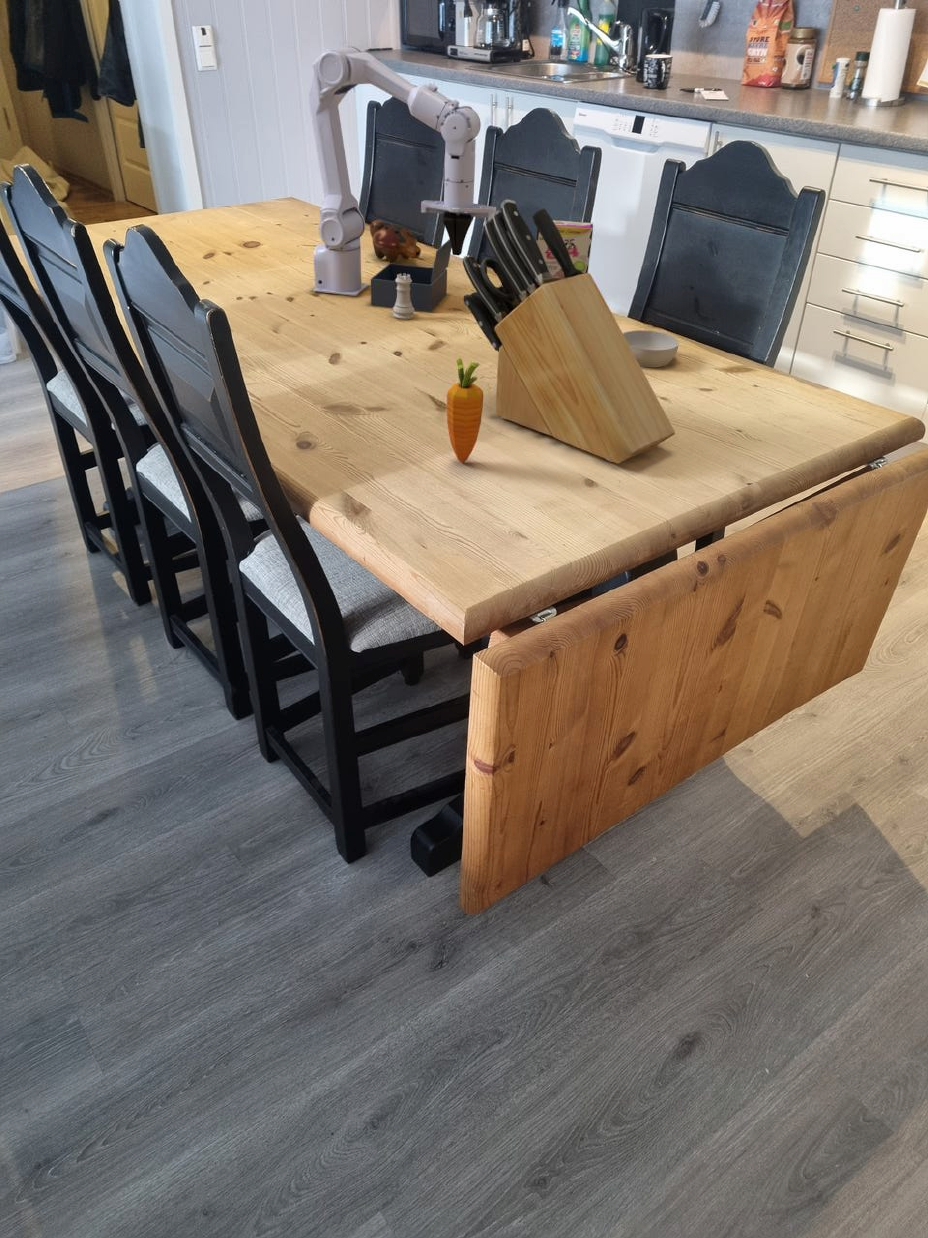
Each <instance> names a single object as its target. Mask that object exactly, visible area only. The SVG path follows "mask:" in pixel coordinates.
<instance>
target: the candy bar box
mask: <svg viewBox="0 0 928 1238" xmlns="http://www.w3.org/2000/svg"><path fill="white" fill-rule="evenodd" d="M552 220H553V222H554V224H555V225H556V227H557V229H558V230H559V232H560V234H561V236H562V238H563V241H564V243H565V245H566V247H567V250H568V252H569V255H570V258H571V261H572V263H573V265H574V267H575V268H576V269H578V270H581V271H582V273H583V274H585V273H589V265H590V258H591V249H592V242H593V241H592V240H593V234H594V233H593V232H594V223H592V222H582V221H570V220H569V221H568V220H555V219H552ZM536 229H537V230H536V239H535V240H536V242H537V244H538V247H539V249H540V251H541V253H542V255H543V258H544V260H545V263H546V265H547V268H548V270H549V272H550V273H551V274H552V275H553V276H556V277H561V278H562V279H564V278H565V277H564V272H563V271H562V269H561V267H560V265H559V263H558V262H557V260H556V259H555V257H554V256H553V254H552V253H551V251H550V249H549V248H548V246H547V244H546V242H545V241H544V239H543V237H542V235H541V234H540V232H539V230H538V228H537V227H536Z"/></svg>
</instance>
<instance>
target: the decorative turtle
mask: <svg viewBox="0 0 928 1238" xmlns="http://www.w3.org/2000/svg"><path fill="white" fill-rule="evenodd" d="M369 232H370V236H371V238H372V245H373V250H374V255H375V257H376V259H378V260H382V259H384V258H386V260H387V261H388V262H389V264H390V263H391V264H395V263H396V262H397V260H398V258H399V257H400V256H401V258H402V259H404V260H409V259H413V260H416V259H419V257H420V256H421V253H422V249H421V247H420V246H418V245H417V243H418V240H417V237H416V235H415V234H414V233H413V231H411V230H410V229H409V228H407V227H406V226H403V225H401V224H395V223H392V224H391V223H390V224H387V225H386V222H384V221H383V220H378V219H376V220H373V221H372V222H371V223H370V224H369Z"/></svg>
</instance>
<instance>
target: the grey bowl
mask: <svg viewBox="0 0 928 1238" xmlns="http://www.w3.org/2000/svg"><path fill="white" fill-rule="evenodd" d="M622 333H623V335H624V337H625V339H626V341H627V342H628V344H629V346H630V348H631V350H632V352H633V354H634V356H635V357H636V359H637V361H638V363H639V365H640V367H641V368H642V367H643V368H661V367H665V366H667V365H669V364H670V362H671V361H672V360H673V359H674V358H675V356H676V354H677V353H678V349H679V345H680V341H679V339H677V338H676V337H675V336H672V335H670V334H669V333H665V332H660V331H656V330H647V329H646V330H645V329H644V330H642V329H640V330H629V331H626V332H622Z"/></svg>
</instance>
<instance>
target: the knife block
mask: <svg viewBox="0 0 928 1238" xmlns="http://www.w3.org/2000/svg"><path fill="white" fill-rule="evenodd" d="M531 218H532V220H533V223H534V225H535V227H536V229H537V228H538V230H539V232H540V234H541V235H542V237H543V239H544V241H545V242H546V244H547V246H548V248H549V249H550V251H551V253H552V254H553V256H554V257H555V259H556V260H557V262H558V263H559V265H560V267H561V269H562V271H563V272H564V277H565V278H564V279H562V278H561V277H556V276H553V275H552V274H551V273H550V272H549V270H548V268H547V265H546V263H545V260H544V258H543V255H542V253H541V251H540V249H539V247H538V244H537V242H536V239H535V237H534V234H533V233H532V231H531V230H530V227H529V226H528V225H527V223H526V221H525V220H524V218H523V216H522V215H521V213H520V211H519V209H518V207H517V202H516V201H515V200H512V199H505V200H503V201H502V202H501V204H500V210H496V212H494V213H493V214H492V217H491V219H488V218H486V219H485V220H484V221H483V227H482V228H483V231H484V235H485V238H486V240H487V243H488V245H489V248H490V249H491V251H492V254H493V256H494V258H492V257H485V258H484V259H483V260H482V261H481V262H480V265H479V264H478V263H477V261H476V257H475V256H474V255H468V254H466V255H465V256H463V258H462V265H463V266H462V267H463V270H464V271H465V273H466V275H467V277H468V279H469V281H470V283H471V285H472V287H473V288H474V290H475V291H472V293H470V294H468V293H467V294H464V295H463V298H462V299H463V304H464V306H466V307H467V309H468V310H469V312H470V313H471V315H472V316H473V318H474V320H475V322H476V323H477V325H478V326H479V328H480V329H481V332H482V333H483V334H484V336H485V338H486V339H487V340H488V342H489V343H490V345H491V346H492V348H493V350H495V352H497V353H498V354H497V368H496V369H497V371H496V393H495V415H496V416H498V417H501V418H502V419H503V420H507V421H511V422H513V423H516V424H518V425H521V426H523V427H526V428H529V429H532V430H535V431H537V432H539V433H543V434H545V435H548V436H551V437H553V438H554V439H557V441H561V442H563V443H566V444H568V445H571V446H573V447H576V448H578V449H581V450H583V451H586V452H588V453H590V454H593V455H595V456H598V457H600V458H603V459H605V460H606V461H608V462H610V463H616V464H620V463H622V462H624V461H626V460H628V459H630V458H633V457H635V456H638V455H639V454H641V453H644V452H646V451H648V450H650V449H652V448H655V446H658V445H660V444H662V443H664V442H665V441H667V440H668V439H670V438H671V437H674V436H675V435H676V430H675V429H674V427H673V426H672V423H671V421H670V420H669V418H668V417H667V414H666V412H665V410H664V408H663V406H662V405H661V403H660V401H659V398H658V397H657V395H656V394H655V391H654V389H653V387H652V386H651V384H650V382H649V379H648V378H647V376H646V374H645V372H644V370H643V369H642V366H640V365H639V363H638V361H637V359H636V357H635V356H634V354H633V352H632V350H631V348H630V346H629V344H628V342H627V341H626V339H625V337H624V335H623V333H624V332H623V331H622V330H621V329H622V328H620V325H619V324H618V322H617V320H616V318H615V316H614V315H613V313H612V311H611V309H610V307H609V305H608V303H607V302H606V300H605V298H604V296H603V294H602V292H601V291H600V289H599V287H598V285H597V283H596V281H595V280H594V278H593V276H592V274H591V273H590V272H588V273H585V274H583V273H582V271H581V270H578V269H576V268H575V267H574V265H573V263H572V261H571V258H570V255H569V252H568V250H567V247H566V245H565V243H564V241H563V238H562V236H561V234H560V232H559V230H558V229H557V227H556V225H555V224H554V222H553V220H554V219H552V217H551V215H550V214H549V213H548V211H547V209H546V208H541V209H538V210H537V211H536V212H535V213H534V214H533V215H532V217H531ZM488 267H489V268H491V270H492V271H493V272H494V274H496V275H497V278H498V280H499V281H500V283H501V285H500V286H495V284H494V283H493V282H492V281H491V279H490V277H489V275H488Z"/></svg>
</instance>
